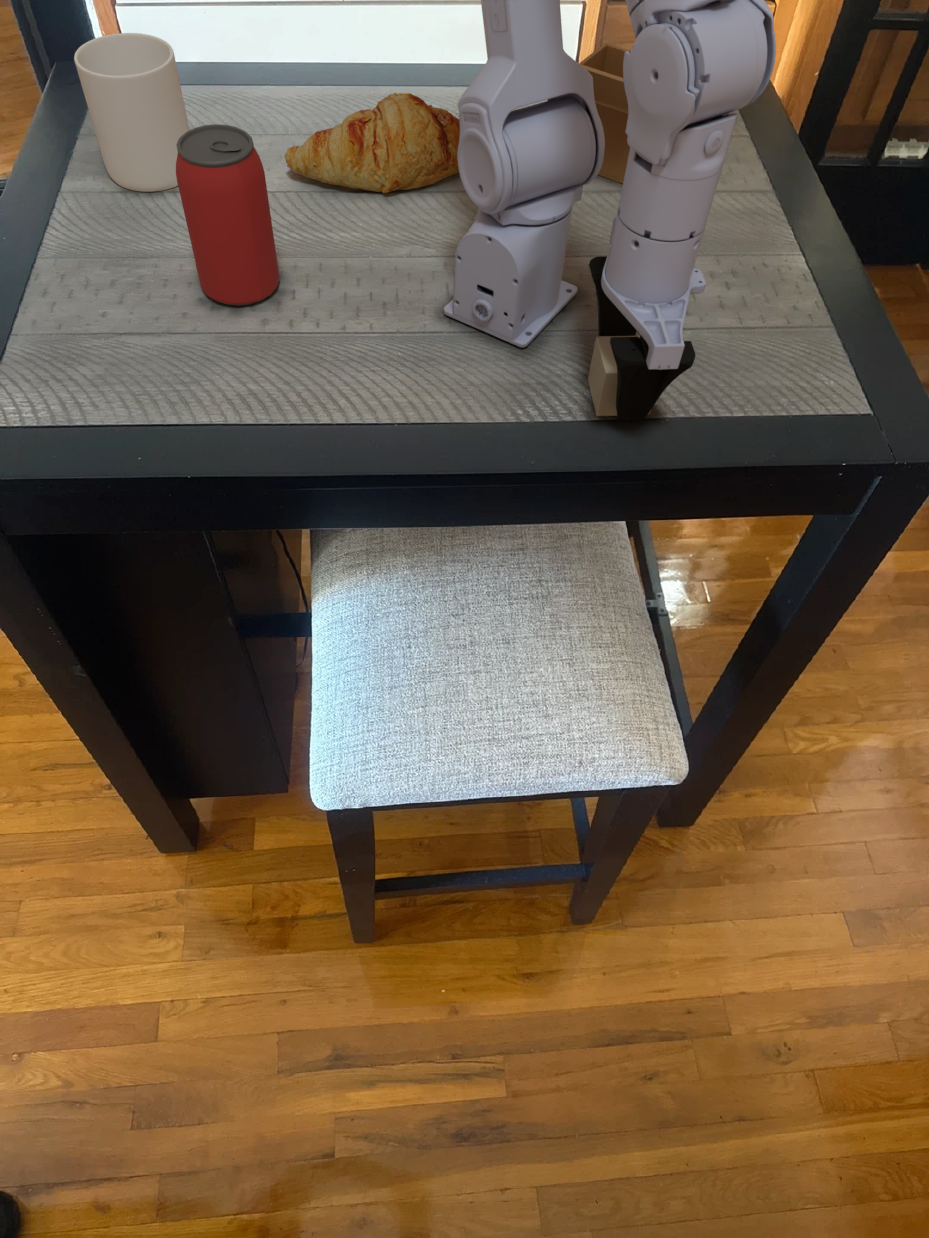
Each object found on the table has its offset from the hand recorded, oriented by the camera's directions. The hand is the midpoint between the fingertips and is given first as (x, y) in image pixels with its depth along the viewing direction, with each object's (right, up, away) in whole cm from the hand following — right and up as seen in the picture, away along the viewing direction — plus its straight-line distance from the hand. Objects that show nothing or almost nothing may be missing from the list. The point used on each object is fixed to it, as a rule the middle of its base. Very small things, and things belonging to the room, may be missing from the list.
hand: (621, 383), depth 68 cm
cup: (-43, +26, +18) cm, 53 cm away
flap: (0, +30, +11) cm, 32 cm away
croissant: (-19, +26, +19) cm, 37 cm away
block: (0, -1, +1) cm, 1 cm away
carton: (+3, +30, +23) cm, 38 cm away
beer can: (-31, +10, +7) cm, 33 cm away
